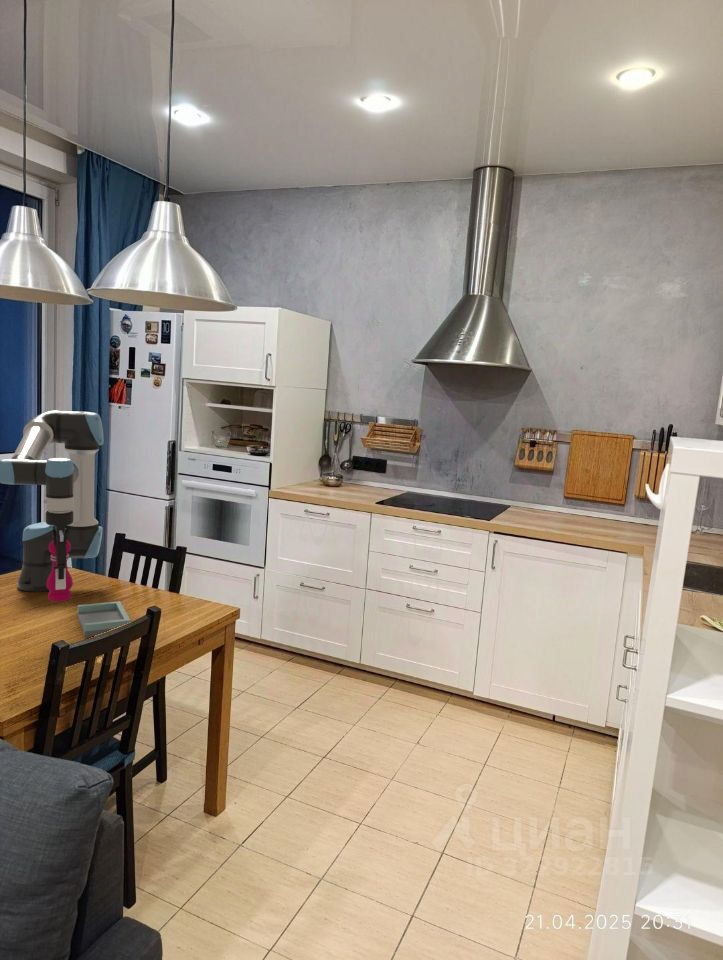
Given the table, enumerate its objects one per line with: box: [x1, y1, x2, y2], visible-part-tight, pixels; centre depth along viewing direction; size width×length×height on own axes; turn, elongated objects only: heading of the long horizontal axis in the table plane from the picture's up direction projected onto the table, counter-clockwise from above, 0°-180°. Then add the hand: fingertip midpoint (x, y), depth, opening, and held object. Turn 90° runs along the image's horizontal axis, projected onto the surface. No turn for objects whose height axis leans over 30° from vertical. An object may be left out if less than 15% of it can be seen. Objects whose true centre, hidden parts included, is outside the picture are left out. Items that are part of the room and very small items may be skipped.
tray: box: [77, 600, 131, 639], centre depth 209 cm, size 19×13×4 cm
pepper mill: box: [46, 540, 74, 602], centre depth 198 cm, size 7×7×20 cm
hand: (59, 584), depth 199 cm, fingers closed on pepper mill, 7 cm apart
